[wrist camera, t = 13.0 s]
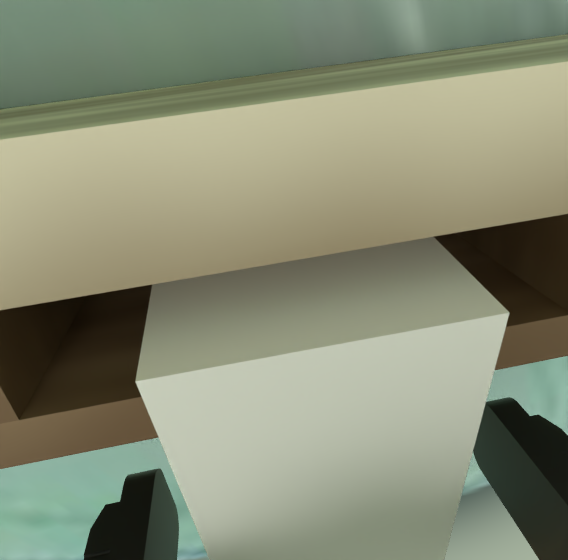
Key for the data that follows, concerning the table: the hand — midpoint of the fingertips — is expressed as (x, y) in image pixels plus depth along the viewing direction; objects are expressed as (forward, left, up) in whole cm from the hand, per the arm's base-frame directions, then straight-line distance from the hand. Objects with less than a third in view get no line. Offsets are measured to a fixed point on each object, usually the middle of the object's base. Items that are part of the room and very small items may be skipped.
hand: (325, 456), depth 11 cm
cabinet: (-2, 0, -7) cm, 7 cm away
